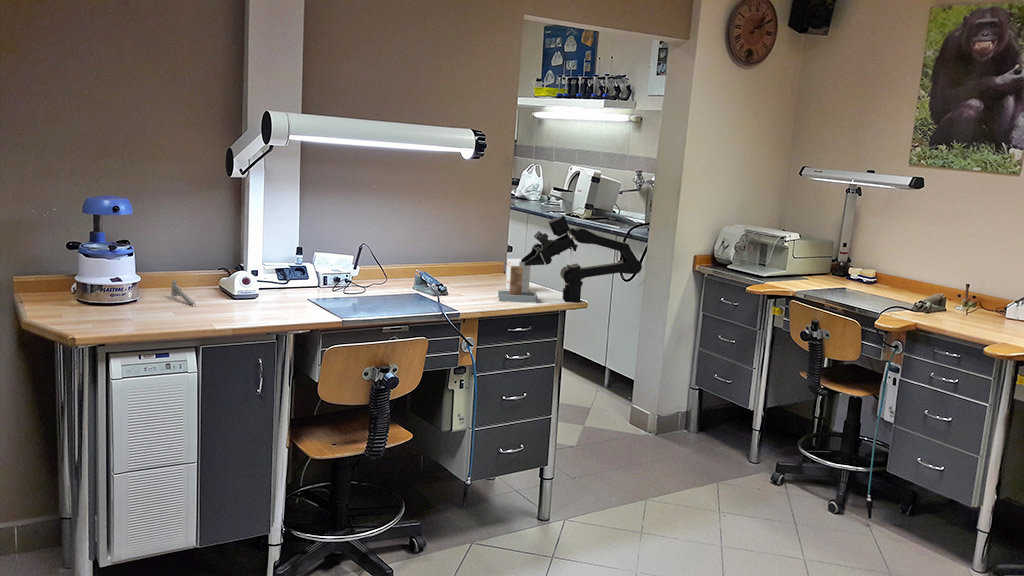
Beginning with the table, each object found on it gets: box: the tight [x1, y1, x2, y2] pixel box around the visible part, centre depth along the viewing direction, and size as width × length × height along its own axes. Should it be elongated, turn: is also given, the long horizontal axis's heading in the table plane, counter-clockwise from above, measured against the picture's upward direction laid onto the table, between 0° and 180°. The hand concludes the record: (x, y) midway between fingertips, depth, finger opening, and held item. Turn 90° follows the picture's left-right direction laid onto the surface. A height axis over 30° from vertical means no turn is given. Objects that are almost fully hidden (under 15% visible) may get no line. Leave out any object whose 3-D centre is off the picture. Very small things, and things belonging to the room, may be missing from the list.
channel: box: [497, 289, 539, 303], centre depth 328 cm, size 15×10×2 cm, turn 93°
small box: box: [505, 258, 531, 292], centre depth 347 cm, size 8×6×13 cm
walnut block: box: [508, 266, 523, 295], centre depth 327 cm, size 4×4×13 cm
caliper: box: [170, 279, 196, 306], centre depth 291 cm, size 20×1×6 cm, turn 42°
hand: (522, 262), depth 327 cm, fingers open, 9 cm apart
